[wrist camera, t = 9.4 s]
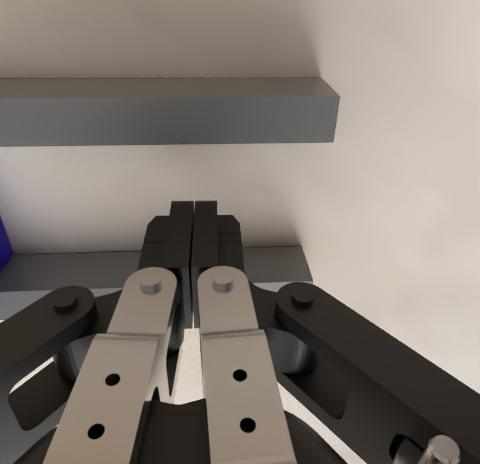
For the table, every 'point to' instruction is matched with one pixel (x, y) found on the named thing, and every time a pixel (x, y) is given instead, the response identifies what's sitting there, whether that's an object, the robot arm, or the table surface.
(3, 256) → the blue u-shaped block
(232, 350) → the robot arm
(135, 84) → the grey u-shaped bracket
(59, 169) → the table surface
